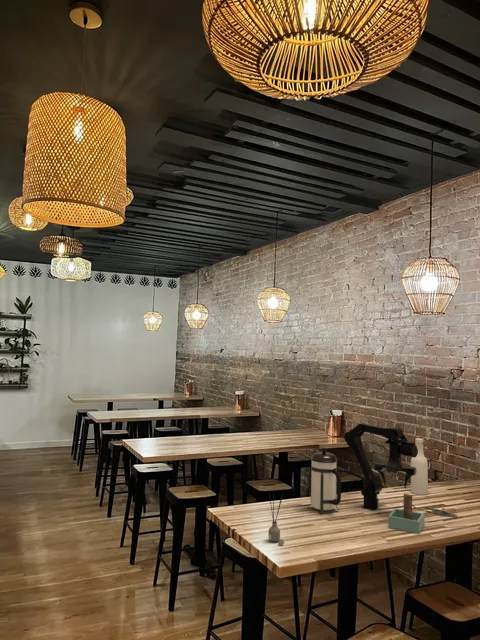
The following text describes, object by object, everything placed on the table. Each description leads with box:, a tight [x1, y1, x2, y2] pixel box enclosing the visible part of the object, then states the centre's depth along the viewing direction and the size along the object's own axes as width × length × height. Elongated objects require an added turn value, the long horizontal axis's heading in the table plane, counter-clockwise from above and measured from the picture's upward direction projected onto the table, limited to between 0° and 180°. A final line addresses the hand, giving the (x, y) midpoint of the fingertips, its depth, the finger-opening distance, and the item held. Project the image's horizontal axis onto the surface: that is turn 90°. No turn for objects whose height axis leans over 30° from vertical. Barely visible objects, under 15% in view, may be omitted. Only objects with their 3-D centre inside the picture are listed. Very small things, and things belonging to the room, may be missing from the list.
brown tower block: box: [403, 493, 413, 520], centre depth 215 cm, size 5×5×13 cm
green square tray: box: [387, 508, 425, 535], centre depth 215 cm, size 13×13×5 cm
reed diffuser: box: [268, 489, 285, 546], centre depth 195 cm, size 10×7×20 cm
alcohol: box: [410, 437, 429, 496], centre depth 270 cm, size 9×9×30 cm
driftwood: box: [412, 505, 458, 519], centre depth 236 cm, size 21×7×2 cm, turn 40°
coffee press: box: [307, 447, 342, 515], centre depth 235 cm, size 17×16×30 cm
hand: (395, 486), depth 232 cm, fingers open, 9 cm apart
